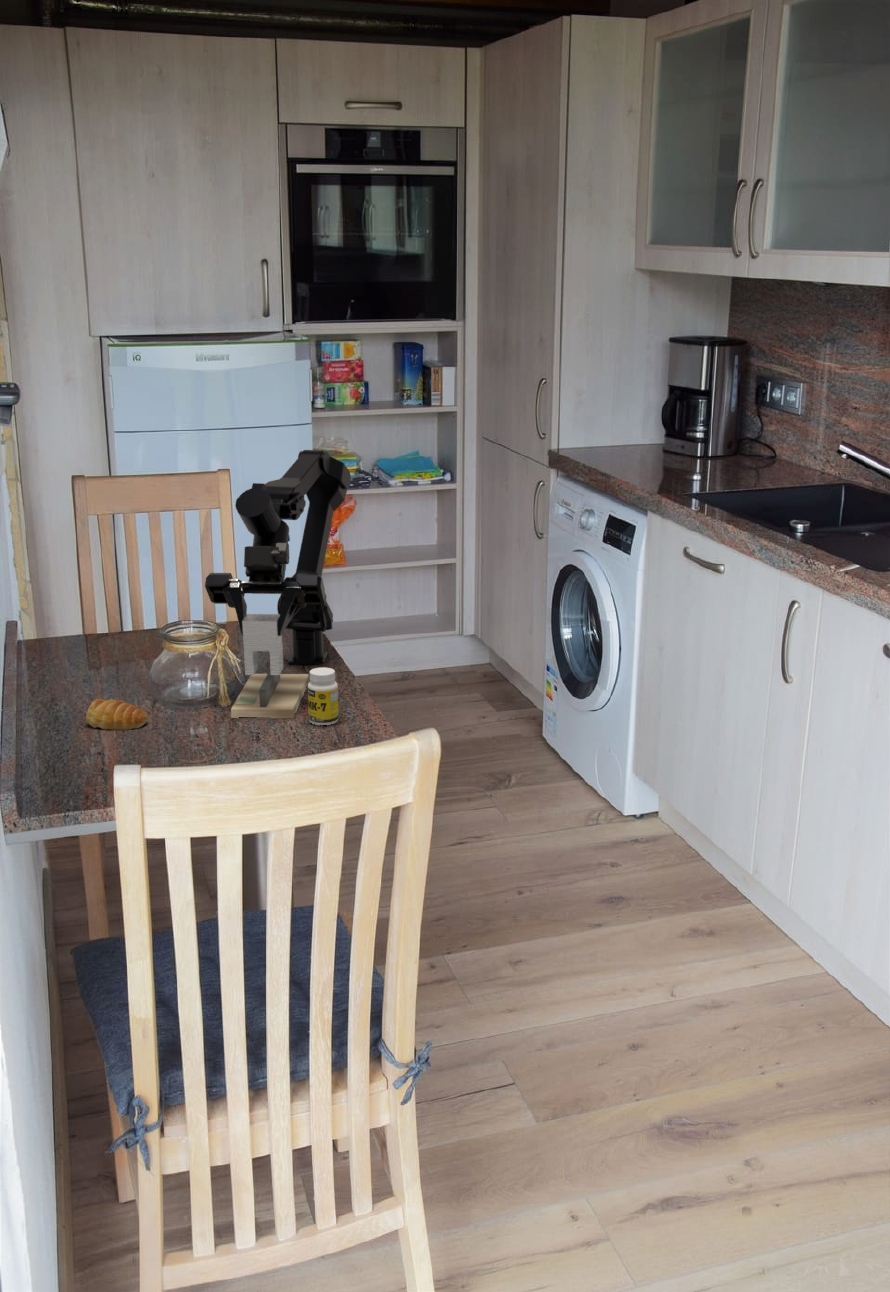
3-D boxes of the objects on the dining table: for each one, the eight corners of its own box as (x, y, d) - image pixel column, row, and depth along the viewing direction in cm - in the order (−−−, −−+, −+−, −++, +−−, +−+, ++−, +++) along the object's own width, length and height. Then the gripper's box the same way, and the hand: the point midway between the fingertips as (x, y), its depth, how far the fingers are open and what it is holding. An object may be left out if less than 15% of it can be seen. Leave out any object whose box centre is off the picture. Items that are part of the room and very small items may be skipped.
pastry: (156, 719, 190) (154, 697, 189) (136, 735, 184) (134, 712, 183) (103, 715, 193) (101, 692, 191) (81, 729, 186) (79, 707, 185)
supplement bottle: (302, 723, 188) (300, 673, 186) (319, 714, 192) (317, 664, 190) (328, 728, 186) (326, 677, 183) (344, 718, 190) (343, 669, 187)
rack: (252, 681, 208) (250, 657, 206) (309, 682, 207) (308, 657, 206) (231, 717, 190) (229, 691, 189) (293, 718, 190) (292, 691, 189)
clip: (250, 666, 194) (247, 614, 191) (283, 667, 194) (280, 614, 191) (245, 674, 190) (242, 621, 188) (279, 675, 190) (276, 621, 187)
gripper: (203, 524, 189) (191, 609, 182) (320, 524, 189) (313, 610, 181) (217, 560, 199) (206, 643, 192) (328, 561, 199) (321, 643, 191)
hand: (260, 634), depth 189 cm, fingers closed on clip, 5 cm apart
